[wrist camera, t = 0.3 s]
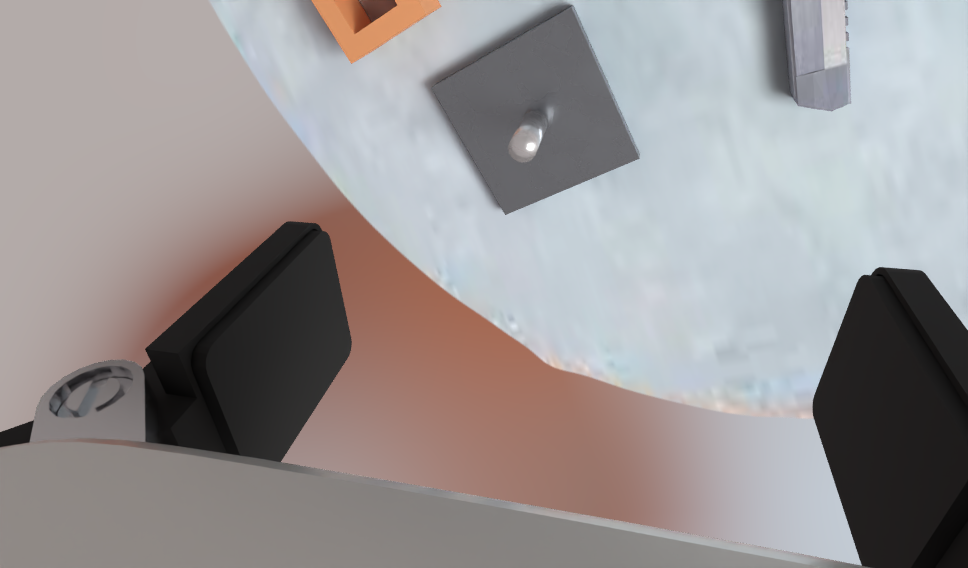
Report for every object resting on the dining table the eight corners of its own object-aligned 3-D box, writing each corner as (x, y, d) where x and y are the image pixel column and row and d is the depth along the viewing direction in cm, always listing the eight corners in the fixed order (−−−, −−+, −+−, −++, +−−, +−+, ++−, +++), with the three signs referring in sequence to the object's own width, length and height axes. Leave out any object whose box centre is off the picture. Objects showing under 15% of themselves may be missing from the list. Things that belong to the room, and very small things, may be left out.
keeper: (435, 84, 46) (407, 109, 40) (572, 5, 40) (562, 22, 35) (507, 209, 50) (491, 246, 45) (639, 153, 45) (638, 188, 40)
